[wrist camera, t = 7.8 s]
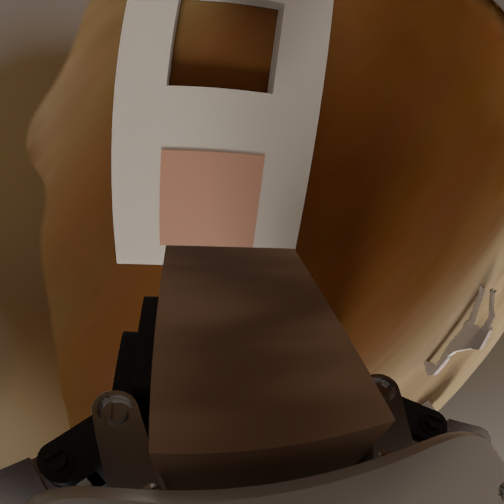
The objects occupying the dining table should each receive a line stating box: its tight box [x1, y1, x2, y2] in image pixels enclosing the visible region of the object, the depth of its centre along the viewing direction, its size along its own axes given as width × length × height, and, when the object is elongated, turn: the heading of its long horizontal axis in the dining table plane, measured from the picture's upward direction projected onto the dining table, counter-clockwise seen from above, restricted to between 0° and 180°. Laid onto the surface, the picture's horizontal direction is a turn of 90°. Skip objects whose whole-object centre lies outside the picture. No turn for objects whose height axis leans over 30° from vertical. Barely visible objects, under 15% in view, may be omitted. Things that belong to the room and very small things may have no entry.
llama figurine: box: [424, 286, 496, 375], centre depth 42 cm, size 2×11×18 cm
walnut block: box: [149, 245, 396, 490], centre depth 9 cm, size 5×5×8 cm
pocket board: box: [111, 0, 334, 265], centre depth 22 cm, size 16×26×2 cm, turn 173°
